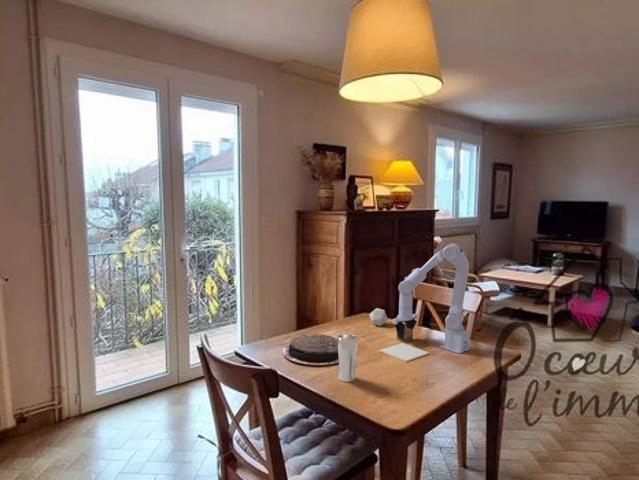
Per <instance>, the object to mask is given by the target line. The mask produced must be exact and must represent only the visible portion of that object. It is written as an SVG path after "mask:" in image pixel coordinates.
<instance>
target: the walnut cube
mask: <svg viewBox="0 0 639 480" xmlns="http://www.w3.org/2000/svg"><path fill="white" fill-rule="evenodd" d="M396 341H400V342H401V343H404V344H407V343H410V342H412V341H414V328H413V329H410V328H407V327H406V326H405V329H404V335H403V339H400V338H398V334H397V333H396Z"/></svg>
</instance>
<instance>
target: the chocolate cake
mask: <svg viewBox="0 0 639 480" xmlns="http://www.w3.org/2000/svg"><path fill="white" fill-rule="evenodd" d="M337 343H338V338H335V337H333V336H332V335H326V334H321V333H320V334H319V333H318V334H315V333H313V334H301V335H299V336H297V337H294V338H293V339H292V340H291V341H290V343H289V344H287V345H285V346H284V347H283V349H282V355H283V357H284V358H286V359H287V360H288V362H290V363H291V362H292V363H295V364H299V365H305V366H311V367H317V368H318V367H319V368H320V367H326V366H327V367H328V366H331V365H339V360H338V354H337Z"/></svg>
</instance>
